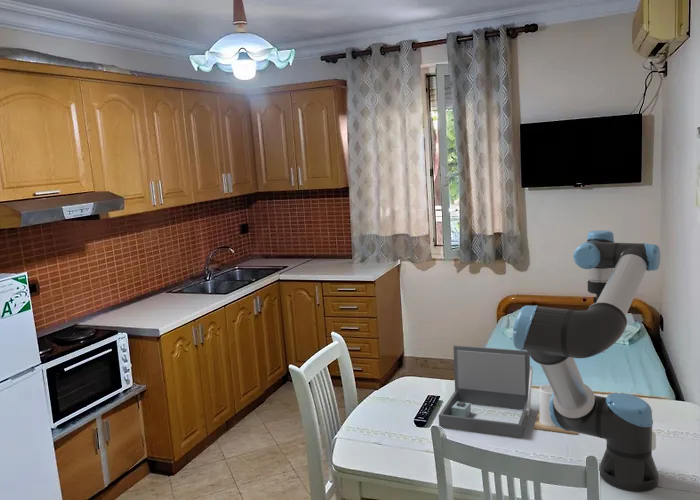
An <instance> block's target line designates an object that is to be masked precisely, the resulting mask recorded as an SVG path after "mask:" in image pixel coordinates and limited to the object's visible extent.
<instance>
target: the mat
mask: <svg viewBox="0 0 700 500" xmlns="http://www.w3.org/2000/svg"><path fill="white" fill-rule="evenodd" d="M539 418H540V411H538V412H537V415H536V418H535V422H534V424H533V425H534V426H533V430H536V431H543V432H545V431H546V432H551V431H552V433H559V434H560V433H561V434H567V435H574V436H575V435H576V436H578V434H579V433H578V432H573V431H567V430H564V429H562V428H559V427H549V426H545V425H543V424H541V423H540V422H539Z"/></svg>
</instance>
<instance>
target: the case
mask: <svg viewBox="0 0 700 500" xmlns="http://www.w3.org/2000/svg"><path fill="white" fill-rule="evenodd" d="M453 370H454V372H453V373H454V375H453V376H454V392H453V393H452V395H451V396H450V398H449V399H448V401H447V402H446V404H445V405H444V407H443V408H442V409H441V411H440V412H439V414H438V427H439V426H441V427H443V428H442V429H450V430H456V431H464V432H470V433H471V432H472V433H478V434H479V433H480V434H487V435H492V436H501V437H508V438H517V439H522V436H523V434H524V431H525V428H526V425H527V421H528V418H529V415H530V413H531V409H532V408H531V406H532V405H531V403H532V402H531V400H532V387H533V384H532V383H533V370H534V369H533V366H532V365H531V356H530V355H529V352H528V351H527V350H520V349H510V348H509V349H508V348H497V347H496V348H495V347H482V346H470V345H468V346H467V345H455V344H454V345H453ZM457 401H460V402H465V403H472V404H471V405H478V406H486V407H494V408H505V409H511V410H512V409H514V410H520V409H523V410H522V412H521V415H520V418H519V421H518V423H514V422H513V423H512V422H507V421H498V420H490V419H481V418H476V417H475V418H473V417H459V416H452V408H451V407H452V406H453V405H454V404H455V403H456V402H457ZM441 427H440V428H441Z"/></svg>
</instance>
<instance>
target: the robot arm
mask: <svg viewBox="0 0 700 500" xmlns="http://www.w3.org/2000/svg"><path fill="white" fill-rule="evenodd" d="M614 238H615V237H614V233H613V232H612V231H610V230H591V231H589V232H588V233H587V239H586V242H584V243H581V244H579V246H577V247H576V248H575V250H574V252H573V261H574V263H575V264H576V265H577V267H578V268H581V269H583V270H587V271H586V272H587V273H586V274H587V275H586V276H587V292H588V293H590V294H592V295H593V294H595V295H596V296H594V297H593V303H592V304H591V305H589V307H588V308H587V309H585V310H578V309H577V310H576V309H567V308H556V307H550V306H549V307H547V306H540V305H539V306H538V305H537V304H536V305H528V304H527V305H524V306H522V307H521V308H520V309H519V310H518V312H517V313H516V314H517V315H516V316H515V320H514V323H513V330H512V343H513V345H514V346H513V347H515V349H516V350H523V351H528V352H529V355H530V359H531V360H533V361H534V362H535V363H537V364H539V365H540V367H541V368H542V370H543V373H544V375H545V377H546V378H547V381H548V383H549V385H550V386H551V388H552V390H553V392H554V393H553V394H552V396H551V399H550V405H549V410H550V417H551V420H552V422H553V423H554V424H555V425H556V426H557V427H559V428H562V429H564V430H567V431H573V432H578V433H577V434H583V435H587V436H592V437H595V438H600V439H604V440H605V441H606V449H605V451H604V454H603V457H602V459H601V460H600V461H601V462H600V465H599V476H600V477H601V479H603V481H604V482H606V483H607V484H609V485H611V486H612V487H615V488H618V489H621V490H625V491H631V492H646V491H650V490H654V489H656V487H657V486H658V485H659V472H658V469H657V467H656V464H655V460H654V457H653V455H652V454H653V452H652V451H653V449H652V448H653V425H654V421H653V411H652V407H651V405H649V403H648V402H646V401H645V400H644V399H643V398H640V397H639V396H636V395H633V394H629V393H625V392H620V393H619V392H613V393H609V394H608V395H607V396H599V395H595V393H594V391H593V389H592V388H590V387H589V386H588V385H587V384H585V383H584V381H583V378H582V376H581V373H580V370H579V368H578V365H577V363H576V361H575V359H588V358H590V357H594V356H596V355H599V354H601V353H602V354H603V353H605V351H606V350H609V349H610V348H611V347H612V346H613V345H615V344H616V342H618V341H619V339H620V338H621V337H622V336H623V334H624V332H625V330H626V328H627V324H628V318H627V313H629V309H630V307H631V305H632V302H633V300H634V299H635V296H636V293H637V291H638V290H639V287H640V285H641V283H642V281H643V278H644V276H645V274H646V272H651V271H652V272H653V271H657V270H658V269H659V268H660V264H661V249H660V247H659V245H657V244H653V243H645V242H643V243H642V242H641V243H639V242H638V243H637V242H636V243H635V242H634V243H633V242H632V243H631V242H615V239H614Z"/></svg>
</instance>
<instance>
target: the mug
mask: <svg viewBox="0 0 700 500" xmlns="http://www.w3.org/2000/svg"><path fill="white" fill-rule="evenodd" d="M538 391H539V412H540V418H539V422H540V423H541V424H543V425H545V426H549V427H557V426H556V425H555V424H554V423H553V422H552V420H551V417H550V410H549V405H550V399H551V396H552V394H553V393H554V392H553V390H552V388H551V386H550V384H544V385H541V386H540V387H539V390H538Z"/></svg>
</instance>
